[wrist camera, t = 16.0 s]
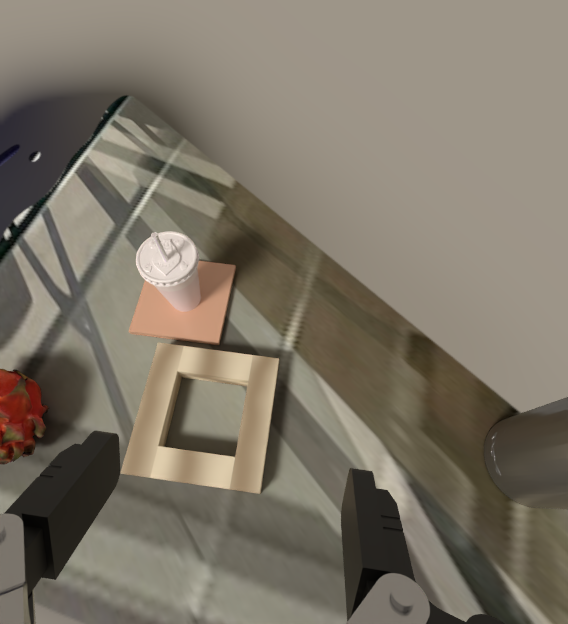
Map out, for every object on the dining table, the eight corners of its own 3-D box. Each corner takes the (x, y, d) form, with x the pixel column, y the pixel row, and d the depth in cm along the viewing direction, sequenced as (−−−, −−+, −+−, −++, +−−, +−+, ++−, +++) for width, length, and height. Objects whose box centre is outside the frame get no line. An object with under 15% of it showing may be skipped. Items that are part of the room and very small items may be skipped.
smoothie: (159, 323, 48) (116, 261, 35) (161, 278, 51) (122, 204, 38) (211, 319, 48) (188, 256, 36) (211, 274, 51) (189, 201, 39)
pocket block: (279, 365, 47) (279, 358, 45) (260, 493, 41) (259, 493, 39) (163, 350, 48) (157, 342, 45) (129, 474, 42) (120, 473, 39)
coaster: (235, 268, 53) (235, 265, 52) (219, 345, 48) (218, 342, 47) (155, 258, 53) (153, 255, 52) (130, 333, 48) (128, 331, 48)
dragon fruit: (41, 477, 43) (13, 391, 48) (78, 426, 40) (44, 343, 46) (-58, 498, 36) (-77, 395, 41) (-20, 438, 33) (-46, 337, 39)
